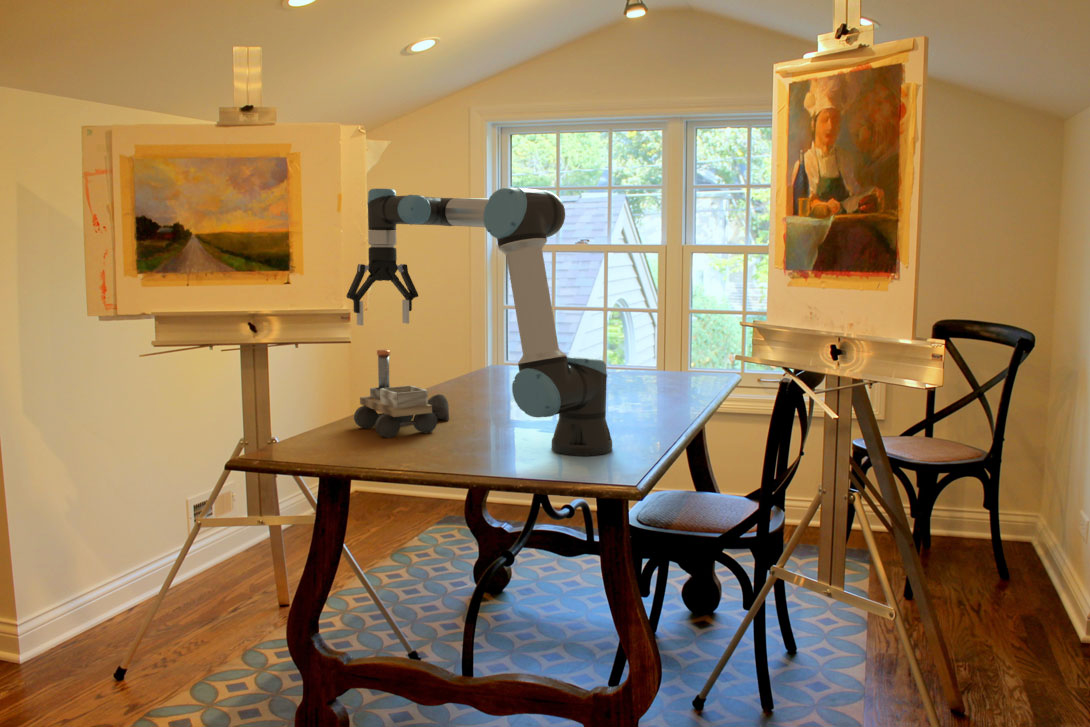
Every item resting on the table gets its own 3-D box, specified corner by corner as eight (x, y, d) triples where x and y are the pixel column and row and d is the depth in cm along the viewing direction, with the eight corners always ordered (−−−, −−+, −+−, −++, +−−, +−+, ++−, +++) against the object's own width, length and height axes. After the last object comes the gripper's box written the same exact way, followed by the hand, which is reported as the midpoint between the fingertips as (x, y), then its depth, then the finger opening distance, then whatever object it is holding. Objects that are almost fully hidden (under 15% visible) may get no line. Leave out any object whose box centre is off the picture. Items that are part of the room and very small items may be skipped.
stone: (430, 436, 250) (456, 412, 250) (410, 414, 250) (435, 390, 250) (436, 434, 260) (460, 410, 260) (416, 413, 260) (441, 390, 260)
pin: (392, 397, 244) (392, 350, 242) (380, 399, 242) (380, 351, 240) (387, 396, 247) (386, 349, 245) (375, 397, 245) (374, 350, 243)
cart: (442, 433, 235) (441, 389, 234) (383, 441, 226) (382, 395, 224) (405, 420, 253) (405, 379, 252) (350, 426, 244) (349, 383, 242)
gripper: (417, 246, 249) (418, 321, 252) (333, 245, 235) (334, 324, 238) (429, 247, 243) (430, 323, 246) (344, 246, 229) (345, 327, 231)
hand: (383, 324), depth 242 cm, fingers open, 13 cm apart
